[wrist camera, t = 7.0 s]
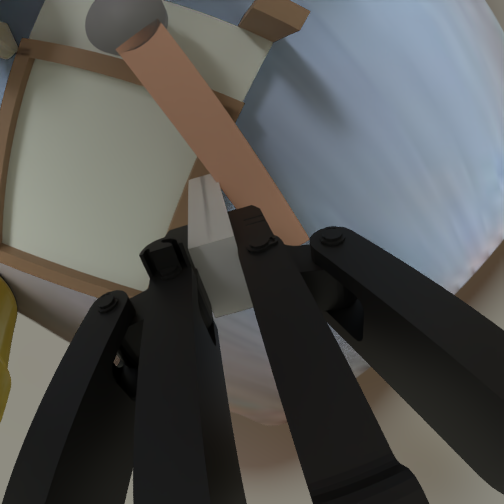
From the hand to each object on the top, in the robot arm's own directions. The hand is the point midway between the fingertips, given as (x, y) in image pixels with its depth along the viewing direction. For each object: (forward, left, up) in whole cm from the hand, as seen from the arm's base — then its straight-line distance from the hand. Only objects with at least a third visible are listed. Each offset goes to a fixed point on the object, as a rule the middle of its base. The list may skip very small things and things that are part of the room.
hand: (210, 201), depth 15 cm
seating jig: (-7, 0, -4) cm, 8 cm away
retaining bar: (-2, +4, -1) cm, 4 cm away
